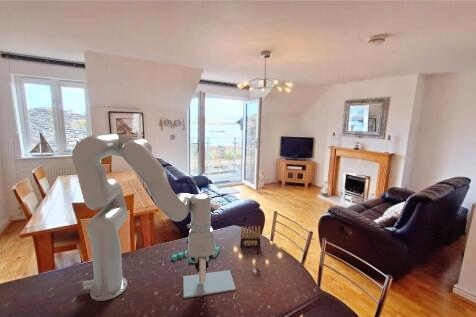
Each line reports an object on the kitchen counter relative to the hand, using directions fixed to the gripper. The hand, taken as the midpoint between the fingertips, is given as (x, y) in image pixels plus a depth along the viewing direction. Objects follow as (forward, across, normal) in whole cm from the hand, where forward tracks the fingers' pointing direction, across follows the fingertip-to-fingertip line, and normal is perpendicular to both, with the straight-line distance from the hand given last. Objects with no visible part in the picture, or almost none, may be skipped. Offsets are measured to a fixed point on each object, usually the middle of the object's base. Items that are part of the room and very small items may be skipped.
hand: (201, 269), depth 93 cm
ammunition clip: (+7, +28, +24) cm, 37 cm away
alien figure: (+7, +1, +25) cm, 26 cm away
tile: (+3, 0, 0) cm, 3 cm away
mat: (+7, +3, 0) cm, 7 cm away
